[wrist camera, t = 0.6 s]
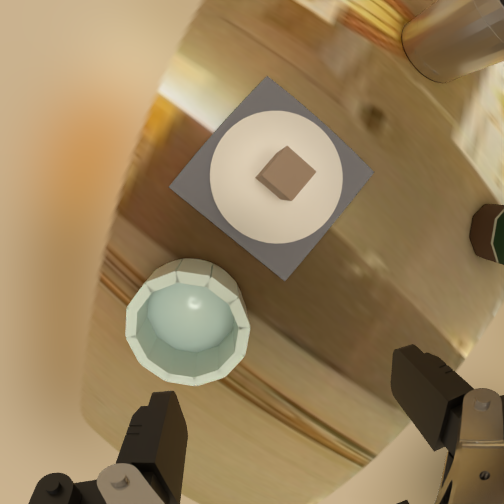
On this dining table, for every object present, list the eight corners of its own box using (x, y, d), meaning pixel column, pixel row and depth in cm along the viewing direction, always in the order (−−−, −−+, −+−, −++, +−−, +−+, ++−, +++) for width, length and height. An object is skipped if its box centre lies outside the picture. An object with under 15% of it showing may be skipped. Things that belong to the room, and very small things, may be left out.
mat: (266, 77, 30) (267, 75, 29) (372, 172, 32) (374, 172, 32) (169, 187, 31) (168, 187, 30) (284, 280, 34) (284, 281, 33)
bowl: (181, 235, 32) (172, 245, 26) (265, 301, 34) (274, 324, 28) (122, 314, 33) (105, 337, 27) (202, 372, 35) (199, 403, 29)
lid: (268, 88, 29) (278, 67, 24) (362, 172, 32) (389, 169, 26) (182, 185, 30) (173, 184, 25) (283, 267, 33) (297, 284, 27)
